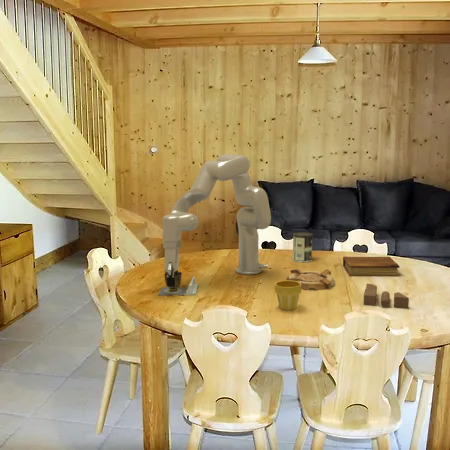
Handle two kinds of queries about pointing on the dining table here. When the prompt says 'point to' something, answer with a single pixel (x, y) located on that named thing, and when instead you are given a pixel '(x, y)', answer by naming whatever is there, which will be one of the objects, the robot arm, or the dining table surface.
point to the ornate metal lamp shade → (177, 280)
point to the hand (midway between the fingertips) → (172, 283)
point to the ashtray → (313, 279)
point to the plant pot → (288, 294)
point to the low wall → (192, 287)
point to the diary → (370, 266)
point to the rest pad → (179, 291)
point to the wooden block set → (384, 298)
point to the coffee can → (302, 247)
